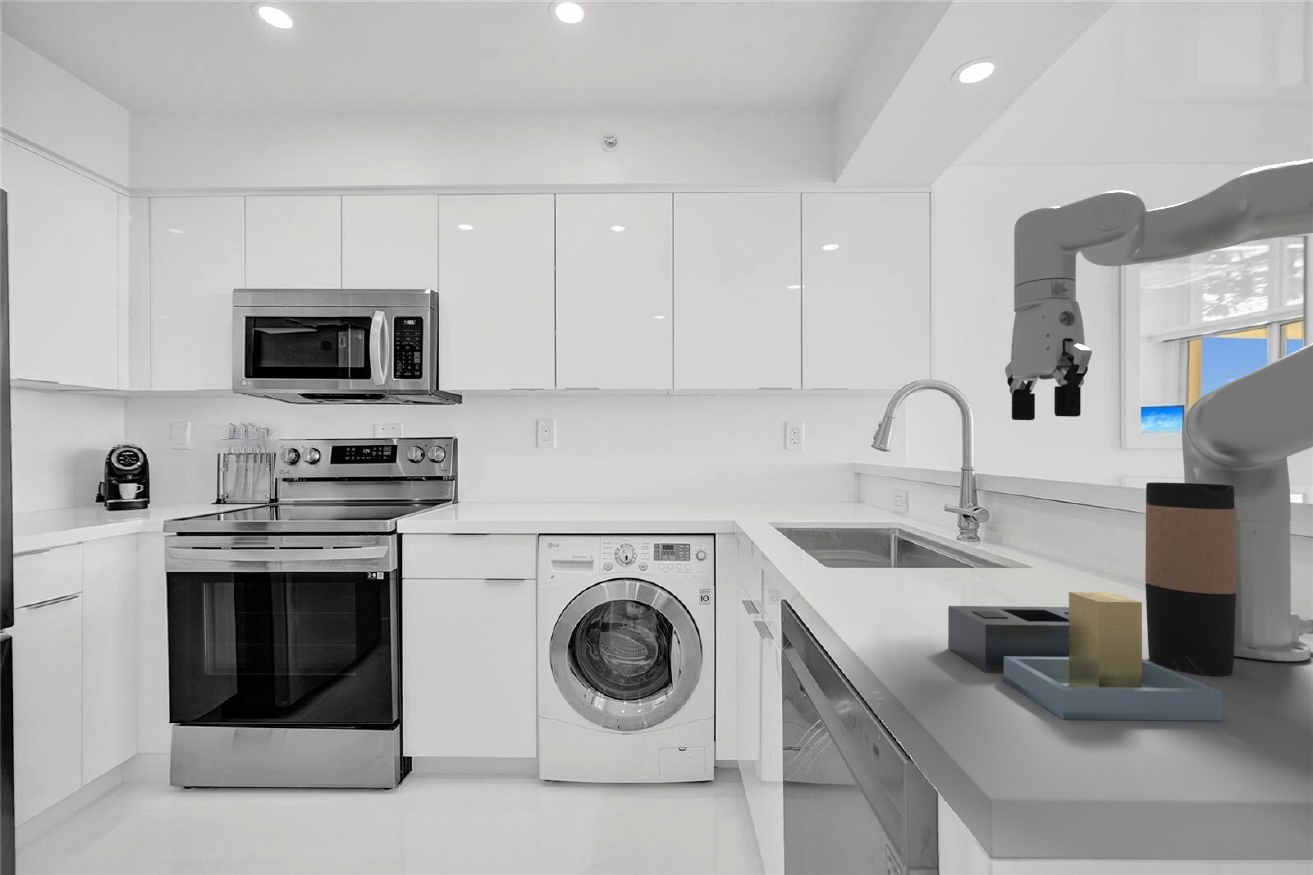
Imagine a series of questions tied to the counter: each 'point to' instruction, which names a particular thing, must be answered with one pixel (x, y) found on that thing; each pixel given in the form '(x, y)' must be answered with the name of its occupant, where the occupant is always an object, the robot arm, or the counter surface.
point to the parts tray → (1113, 693)
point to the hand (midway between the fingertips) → (1044, 418)
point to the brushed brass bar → (1104, 640)
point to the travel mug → (1191, 576)
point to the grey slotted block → (1007, 633)
